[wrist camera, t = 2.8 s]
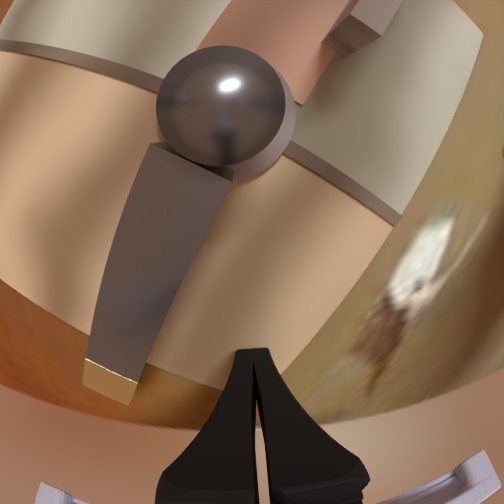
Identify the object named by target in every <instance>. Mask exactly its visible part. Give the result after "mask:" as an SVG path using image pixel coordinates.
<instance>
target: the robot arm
mask: <svg viewBox="0 0 504 504" xmlns="http://www.w3.org/2000/svg"><path fill="white" fill-rule="evenodd" d="M256 400H257V406H258V411H259V416H260V422H261V427H262V432H263V437H264V443H265V452H266V463H267V473H268V485H269V497H270V504H363V503H362V499H363V494H362V490H363V489H364V488H365V487H366V486H367V485H368V483H369V481H370V478H369V474H368V472H367V470H366V468H365V466H364V464H363V463H362V462H361V460H360V459H359V458H358V457H357V456H355V455H354V454H353V453H351V452H350V451H348V450H347V449H346V448H344V447H343V446H341V445H340V444H339V443H338V442H336V441H335V440H334V439H333V438H331V437H330V436H329V435H328V434H327V433H326V432H325V431H324V430H323V429H322V428H321V427H320V426H319V425H318V424H317V423H316V422H315V421H314V420H313V419H312V418H311V417H310V416H309V415H308V414H307V412H306V411H305V410H304V409H303V408H302V406H301V405H300V404H299V403H298V401H297V400H296V399H295V397H294V396H293V394H292V393H291V392H290V390H289V389H288V387H287V385H286V384H285V382H284V380H283V379H282V377H281V375H280V374H279V372H278V370H277V368H276V366H275V364H274V361H273V359H272V356H271V354H270V350H269V349H268V348H267V347H265V348H252V349H238V350H237V351H236V352H235V358H234V362H233V366H232V369H231V372H230V375H229V378H228V380H227V383H226V385H225V388H224V390H223V392H222V394H221V396H220V398H219V400H218V402H217V404H216V406H215V408H214V410H213V412H212V413H211V415H210V417H209V418H208V420H207V421H206V423H205V424H204V426H203V427H202V429H201V430H200V432H199V433H198V434H197V436H196V437H195V438H194V440H193V441H192V442H191V443H190V444H189V446H188V447H187V448H186V449H185V450H184V451H183V453H182V454H181V455H180V456H179V457H178V458H177V459H176V460H175V461H174V462H173V463H172V464H171V465H170V466H169V467H167V468H166V469H165V470H164V471H163V473H162V475H161V477H160V479H159V482H158V485H157V489H156V496H155V504H259V493H258V481H257V468H256V454H255V423H256ZM500 487H501V484H500V482H499V479H498V477H497V475H496V473H495V471H494V469H493V467H492V465H491V463H490V460H489V458H488V456H487V454H486V453H485V451H484V450H480V451H479V452H477V453H476V454H474V455H473V456H471V457H470V458H468V459H466V460H465V461H463V462H462V463H461V464H459V465H458V466H457V467H456V468H455V469H454V470H452V471H450V472H449V473H447V474H445V475H443V476H441V477H439V478H437V479H435V480H433V481H431V482H429V483H427V484H425V485H422V486H420V487H418V488H416V489H414V490H411V491H409V492H406V493H404V494H401V495H399V496H396V497H394V498H391V499H388V500H385V501H382V502H380V503H377V504H479V503H480V502H482V501H483V500H485V499H486V498H487V497H489V496H490V495H491V494H493V493H494V492H495V491H496V490H498V489H499V488H500ZM35 504H91V503H87V502H85V501H82V500H79V499H76V498H74V497H72V496H71V495H70V494H68V493H66V492H64V491H62V490H60V489H58V488H56V487H54V486H51V485H49V484H47V483H45V482H41V484H40V487H39V490H38V493H37V497H36V500H35Z"/></svg>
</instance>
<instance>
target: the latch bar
mask: <svg viewBox="0 0 504 504" xmlns="http://www.w3.org/2000/svg"><path fill="white" fill-rule="evenodd" d="M285 104H286V101H285V93H284V89H283V85H282V83H281V80H280V78H279V77H278V75H277V73H276V72H275V70H274V69H273V68H272V67H271V65H270V64H268V63H267V62H266V61H265V60H264V59H263V58H261V57H260V56H259V55H257V54H255V53H253V52H251V51H249V50H246V49H244V48H240V47H236V46H227V45H218V46H211V47H206V48H202V49H200V50H197V51H194V52H192V53H190V54H189V55H187V56H185V57H184V58H182V59H181V60H180V61H178V62H177V63H176V64H175V65H174V66H173V67H172V68H171V69H170V71H169V72H168V73H167V75H166V76H165V78H164V79H163V81H162V83H161V86H160V88H159V91H158V94H157V100H156V116H157V121H158V125H159V128H160V130H161V133H162V134H163V136H164V138H165V139H166V141H165V142H156V143H150V144H149V147H148V149H147V151H146V153H145V156H144V158H143V160H142V163H141V165H140V167H139V170H138V172H137V175H136V177H135V179H134V182H133V185H132V187H131V190H130V192H129V195H128V198H127V200H126V203H125V206H124V209H123V211H122V214H121V217H120V220H119V223H118V226H117V229H116V232H115V235H114V238H113V242H112V245H111V248H110V252H109V255H108V258H107V262H106V266H105V269H104V273H103V277H102V281H101V285H100V289H99V293H98V297H97V302H96V306H95V311H94V316H93V321H92V326H91V331H90V337H89V343H88V349H87V355H86V359H85V365H84V373H83V382H82V385H84V386H86V387H88V388H90V389H92V390H94V391H96V392H98V393H100V394H102V395H105V396H107V397H109V398H111V399H113V400H116V401H118V402H120V403H123V404H125V405H127V406H129V404H130V402H131V399H132V397H133V394H134V392H135V389H136V387H137V384H138V381H139V378H140V375H141V373H142V371H143V368H144V366H145V363H146V361H147V359H148V356H149V354H150V352H151V349H152V347H153V345H154V342H155V340H156V338H157V336H158V333H159V331H160V329H161V326H162V324H163V322H164V320H165V318H166V315H167V313H168V311H169V309H170V307H171V304H172V302H173V300H174V298H175V296H176V294H177V291H178V289H179V287H180V285H181V283H182V281H183V279H184V277H185V275H186V272H187V270H188V268H189V266H190V264H191V262H192V260H193V258H194V256H195V254H196V252H197V250H198V248H199V246H200V244H201V242H202V240H203V238H204V236H205V234H206V232H207V230H208V228H209V226H210V224H211V222H212V220H213V218H214V216H215V214H216V213H217V211H218V209H219V207H220V205H221V203H222V201H223V199H224V197H225V195H226V194H227V192H228V190H229V188H230V186H231V184H232V181H233V174H234V171H233V170H231V169H229V168H227V167H225V166H226V165H233V164H237V163H240V162H243V161H246V160H248V159H250V158H252V157H254V156H255V155H257V154H258V153H260V152H261V151H262V150H263V149H265V148H266V147H267V146H268V145H269V144H270V142H271V141H272V140H273V139H274V137H275V136H276V134H277V133H278V131H279V129H280V127H281V125H282V122H283V119H284V114H285Z"/></svg>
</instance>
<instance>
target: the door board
mask: <svg viewBox="0 0 504 504" xmlns="http://www.w3.org/2000/svg"><path fill="white" fill-rule="evenodd" d="M482 38H483V33H482V32H481V31H480V30H479V29H478V27H477V26H476V25H475V24H474V23H473V22H472V21H471V20H470V18H469V17H468V16H467V15H466V14H465V13H464V12H463V11H462V10H461V9H460V8H459V7H458V6H457V5H456V4H455V3H454V2H453V1H452V0H14V2H13V4H12V5H11V7H10V9H9V10H8V12H7V14H6V16H5V17H4V19H3V21H2V23H1V25H0V279H1V280H3V281H4V282H5V283H7V284H8V285H9V286H11V287H12V288H14V289H15V290H16V291H18V292H19V293H21V294H22V295H23V296H25V297H26V298H28V299H29V300H31V301H32V302H34V303H35V304H37V305H38V306H40V307H42V308H43V309H45V310H46V311H48V312H49V313H51V314H53V315H54V316H56V317H58V318H59V319H61V320H63V321H64V322H66V323H68V324H70V325H71V326H73V327H75V328H77V329H78V330H80V331H82V332H84V333H86V334H88V335H89V336H90V331H91V326H92V321H93V316H94V311H95V306H96V302H97V297H98V293H99V289H100V285H101V281H102V277H103V273H104V269H105V266H106V262H107V258H108V255H109V252H110V248H111V245H112V242H113V238H114V235H115V232H116V229H117V226H118V223H119V220H120V217H121V214H122V211H123V209H124V206H125V203H126V200H127V198H128V195H129V192H130V190H131V187H132V185H133V182H134V179H135V177H136V175H137V172H138V170H139V167H140V165H141V163H142V160H143V158H144V156H145V153H146V151H147V149H148V147H149V144H150V143H156V142H165V141H166V139H165V138H164V136H163V134H162V133H161V130H160V128H159V125H158V121H157V116H156V100H157V94H158V91H159V88H160V86H161V83H162V81H163V79H164V78H165V76H166V75H167V73H168V72H169V71H170V69H171V68H172V67H173V66H174V65H175V64H176V63H177V62H178V61H180V60H181V59H182V58H184V57H185V56H187V55H189V54H190V53H192V52H194V51H197V50H200V49H202V48H206V47H211V46H218V45H227V46H236V47H240V48H244V49H246V50H249V51H251V52H253V53H255V54H257V55H259V56H260V57H261V58H263V59H264V60H265V61H266V62H267V63H268V64H270V65H271V67H272V68H273V69H274V70H275V72H276V73H277V75H278V77H279V78H280V80H281V83H282V85H283V89H284V93H285V101H286V104H285V114H284V119H283V122H282V125H281V127H280V129H279V131H278V133H277V134H276V136H275V137H274V139H273V140H272V141H271V142H270V144H269V145H268V146H267V147H266V148H265V149H263V150H262V151H261V152H260V153H258V154H257V155H255V156H254V157H252V158H250V159H248V160H246V161H243V162H240V163H237V164H233V165H226V166H225V167H227V168H229V169H231V170H233V171H234V174H233V181H232V184H231V186H230V188H229V190H228V192H227V194H226V195H225V197H224V199H223V201H222V203H221V205H220V207H219V209H218V211H217V213H216V214H215V216H214V218H213V220H212V222H211V224H210V226H209V228H208V230H207V232H206V234H205V236H204V238H203V240H202V242H201V244H200V246H199V248H198V250H197V252H196V254H195V256H194V258H193V260H192V262H191V264H190V266H189V268H188V270H187V272H186V275H185V277H184V279H183V281H182V283H181V285H180V287H179V289H178V291H177V294H176V296H175V298H174V300H173V302H172V304H171V307H170V309H169V311H168V313H167V315H166V318H165V320H164V322H163V324H162V326H161V329H160V331H159V333H158V336H157V338H156V340H155V342H154V345H153V347H152V349H151V352H150V354H149V356H148V359H147V361H146V363H148V364H151V365H153V366H155V367H158V368H160V369H163V370H165V371H168V372H170V373H173V374H176V375H178V376H181V377H184V378H186V379H189V380H192V381H195V382H198V383H201V384H204V385H207V386H210V387H213V388H216V389H219V390H222V391H223V390H224V388H225V385H226V383H227V380H228V378H229V375H230V372H231V369H232V366H233V362H234V358H235V352H236V351H237V350H238V349H252V348H265V347H267V348H268V349H269V350H270V354H271V356H272V359H273V361H274V364H275V366H276V368H277V370H278V372H279V374H280V375H281V374H282V372H283V371H284V370H285V369H286V368H287V367H288V366H289V365H290V364H291V362H292V361H293V360H294V359H295V358H296V357H297V356H298V354H299V353H300V352H301V351H302V350H303V349H304V348H305V346H306V345H307V344H308V343H309V342H310V340H311V339H312V338H313V337H314V336H315V334H316V333H317V332H318V331H319V330H320V328H321V327H322V326H323V325H324V323H325V322H326V321H327V320H328V318H329V317H330V316H331V315H332V313H333V312H334V311H335V310H336V308H337V307H338V306H339V304H340V303H341V302H342V300H343V299H344V298H345V296H346V295H347V294H348V292H349V291H350V290H351V288H352V287H353V286H354V284H355V283H356V282H357V280H358V279H359V277H360V276H361V275H362V273H363V272H364V270H365V269H366V268H367V266H368V265H369V263H370V262H371V260H372V259H373V258H374V256H375V255H376V253H377V252H378V250H379V249H380V247H381V246H382V244H383V243H384V241H385V240H386V238H387V237H388V235H389V233H390V232H391V230H392V229H393V227H394V226H396V225H397V224H398V222H399V220H400V219H401V217H402V215H401V214H402V213H403V211H404V209H405V208H406V206H407V204H408V203H409V201H410V199H411V198H412V196H413V194H414V192H415V191H416V189H417V187H418V185H419V184H420V182H421V180H422V178H423V176H424V175H425V173H426V171H427V169H428V167H429V165H430V163H431V162H432V160H433V158H434V156H435V154H436V152H437V150H438V148H439V146H440V144H441V142H442V140H443V138H444V136H445V134H446V131H447V129H448V127H449V125H450V123H451V121H452V118H453V116H454V114H455V112H456V109H457V107H458V105H459V102H460V100H461V97H462V95H463V93H464V90H465V88H466V85H467V82H468V80H469V77H470V74H471V72H472V69H473V66H474V63H475V60H476V57H477V54H478V51H479V48H480V45H481V41H482Z"/></svg>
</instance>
